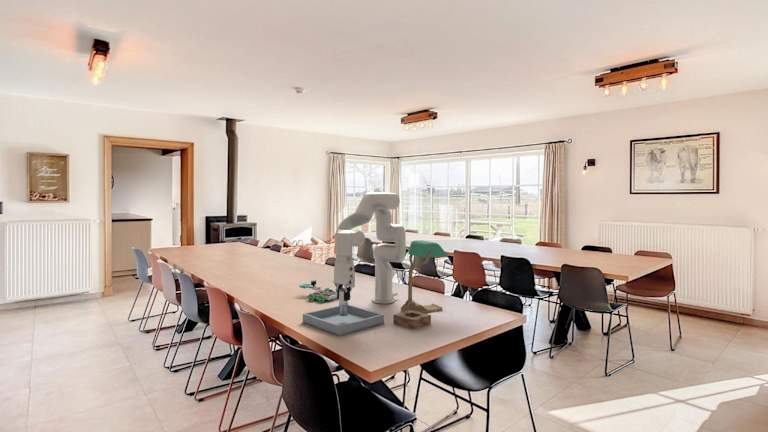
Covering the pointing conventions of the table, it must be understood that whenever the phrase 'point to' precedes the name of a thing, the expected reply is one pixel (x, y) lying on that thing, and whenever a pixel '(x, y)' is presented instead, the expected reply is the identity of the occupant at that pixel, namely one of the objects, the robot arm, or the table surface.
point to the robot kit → (319, 292)
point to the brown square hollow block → (412, 319)
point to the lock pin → (342, 303)
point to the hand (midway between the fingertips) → (343, 299)
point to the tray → (343, 319)
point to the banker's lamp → (420, 250)
